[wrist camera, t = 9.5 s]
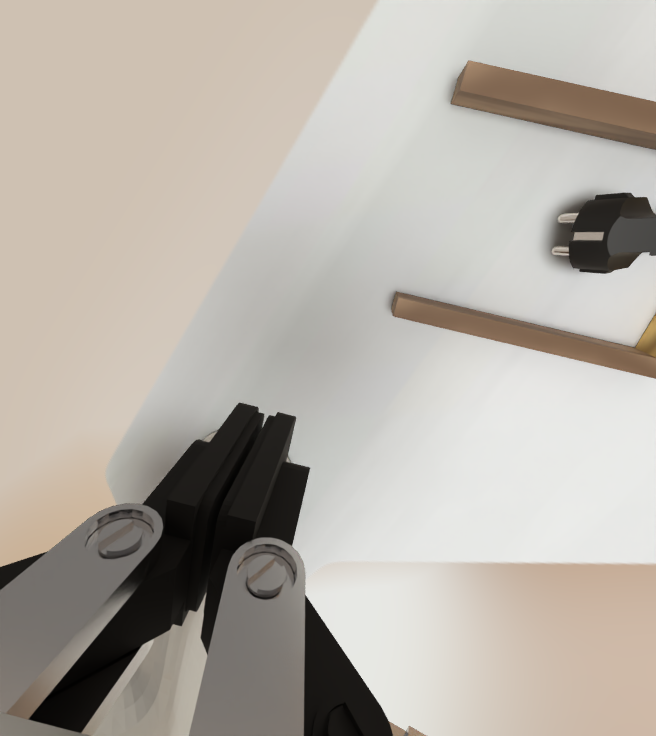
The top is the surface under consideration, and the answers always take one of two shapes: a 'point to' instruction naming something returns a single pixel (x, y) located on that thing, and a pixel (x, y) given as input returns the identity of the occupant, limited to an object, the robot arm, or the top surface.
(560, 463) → the top surface
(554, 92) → the brown wooden u-shaped frame
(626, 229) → the power plug
